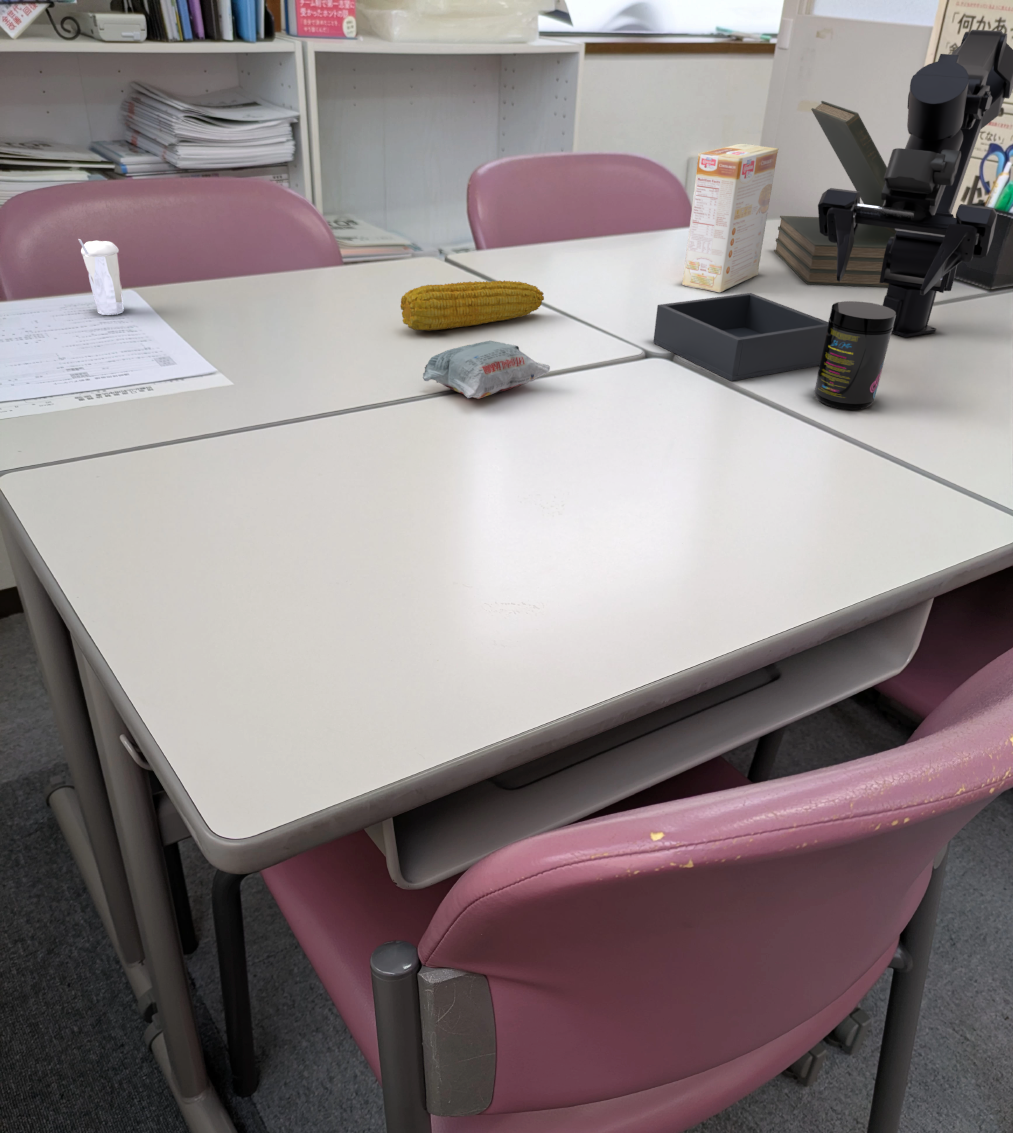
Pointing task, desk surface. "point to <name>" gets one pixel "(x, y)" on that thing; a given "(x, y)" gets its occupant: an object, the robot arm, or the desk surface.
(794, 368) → the square tray
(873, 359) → the supplement container
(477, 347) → the packaged food
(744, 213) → the coffeecake box
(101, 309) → the milkshake
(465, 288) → the food
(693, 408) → the desk surface
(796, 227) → the stack of books
